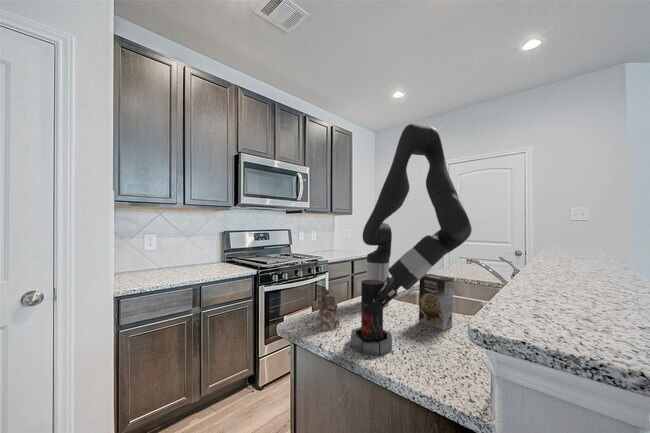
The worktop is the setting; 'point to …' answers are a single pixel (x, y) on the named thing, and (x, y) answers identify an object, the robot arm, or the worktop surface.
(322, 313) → the figurine
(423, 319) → the coffee box
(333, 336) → the worktop surface
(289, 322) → the worktop surface
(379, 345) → the collar ring
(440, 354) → the worktop surface
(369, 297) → the deodorant
